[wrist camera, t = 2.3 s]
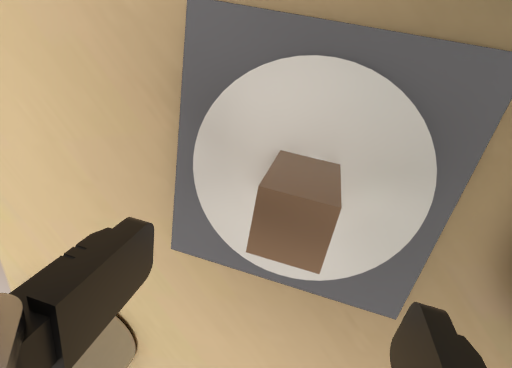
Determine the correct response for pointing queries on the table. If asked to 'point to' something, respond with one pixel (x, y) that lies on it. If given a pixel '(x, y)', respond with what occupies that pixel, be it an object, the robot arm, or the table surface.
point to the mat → (366, 54)
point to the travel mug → (110, 348)
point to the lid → (314, 167)
